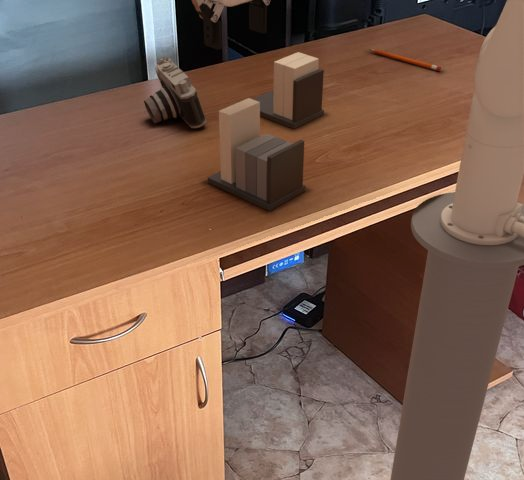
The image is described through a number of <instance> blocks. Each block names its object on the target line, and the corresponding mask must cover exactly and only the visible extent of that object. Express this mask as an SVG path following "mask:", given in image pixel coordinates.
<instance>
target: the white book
mask: <svg viewBox="0 0 524 480" xmlns="http://www.w3.org/2000/svg"><path fill="white" fill-rule="evenodd" d="M218 130H219V131H218V133H219V153H220V154H219V158H220V159H219V162H220V164H219V165H220V171H221V180H224V181H226V182H228V183H230V184H233V183H235V182H236V158H235V148H236V147H238V146H241V145H243V144H245V143H247V142H249V141H251V140H253V139H255V138H257V137H260V136H261V116H260V102H258V101H256V100H253V98H250V97H248V98H245V99H243V100H241V101H239V102H236V103H233V104H231V105H229V106H226V107H225V108H222V109H220V110H218Z"/></svg>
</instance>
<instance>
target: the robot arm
mask: <svg viewBox="0 0 524 480" xmlns="http://www.w3.org/2000/svg"><path fill="white" fill-rule="evenodd" d="M191 2H192V5H193V9H194V11H195V12H197V13H198V15H199V18H200V19H202V21H203V24H202V25H203V44H204V45H205V46H206V47H209V48H212V49H214V50H217V51H218V50H221V49H222V48H223V23H222V21H221V20H219V19H220V17H221V15H222V12H223V10H224V8H225V7H229V8H230V7H235V6H238V5H243V4H245V3H248V29H249V30H250V31H253V32H257V33H260V34H262V35H263V34H266V33H267V31H268V26H267V25H268V6H269V5H270V3H271V0H191ZM213 5H214V7H213ZM212 7H213V9H212ZM473 73H474V74H473V92H472V98H471V104H470V108H469V114H468V118H467V119H468V121H467V125H466V130H465V135H464V140H463V145H462V153H461V158H460V162H459V167H458V173H457V178H456V184H455V190H454V192H455V195H454V201H453V203H452V204H450V205H448V206H447V207H445V208H444V209H443V211H442V213H441V218H440V222H441V226H442V227H443V229H444V230H445V231H446V232H447V233H448V234H450V235H451V236H453V237H455V238H457V239H459V240H461V241H464V242H467V243H471V244H477V245H489V246H490V245H500V244H505V243H508V242H510V241H512V240H514V239H515V238H516V237H518V235H520V236H523V237H524V216H523V214H521V210H522V206H523V204H524V203H522V204H520V203H521V202H520V203H518V202H519V201H518V200H519V195H520V191H521V188H522V183H523V178H524V0H506V1H505V4H504V6H503V9H502V11H501V13H500V16H499V18H498V20H497V22H496V24H495V26H493V27H492V29H491V30H490V31H489V32H488V34H487V35H486V37H485V38H484V40H483V42H482V45H481V46H480V50H479V55H478V58H477V62H476V66H475V69H474V72H473Z"/></svg>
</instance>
